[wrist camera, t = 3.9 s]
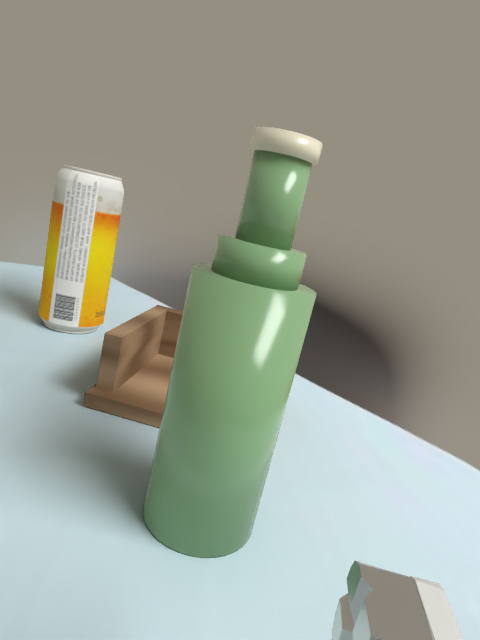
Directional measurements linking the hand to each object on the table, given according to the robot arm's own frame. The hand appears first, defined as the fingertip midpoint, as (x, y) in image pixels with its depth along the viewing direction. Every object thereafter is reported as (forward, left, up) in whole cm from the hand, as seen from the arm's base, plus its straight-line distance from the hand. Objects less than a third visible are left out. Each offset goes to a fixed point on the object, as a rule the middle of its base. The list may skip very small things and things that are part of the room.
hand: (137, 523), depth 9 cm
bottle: (-4, +11, -9) cm, 15 cm away
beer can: (-29, +25, -9) cm, 39 cm away
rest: (-12, +22, -9) cm, 27 cm away
